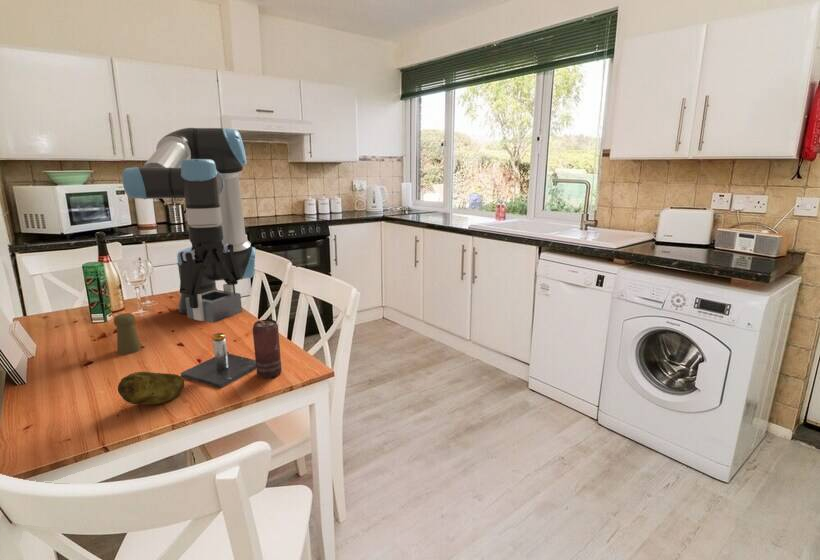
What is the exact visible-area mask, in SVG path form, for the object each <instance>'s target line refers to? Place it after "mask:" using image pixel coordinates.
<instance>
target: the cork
mask: <svg viewBox="0 0 820 560" xmlns="http://www.w3.org/2000/svg"><path fill="white" fill-rule="evenodd" d="M135 323H136V317H135V315H134V314H133V313H131V312H129V313H128V312H125V313H121V314H117V315H115V316H114V318H113V324H114V326H115V327H116V333H117V335H116V336H117V337H116V341H117V343H116V344H117V346H116V347H117V354H118V355H131V354H135V353H137V352H139V351H141V350H142V348H143V347H142V345H141V344H142V343H141V342H140V339H139V336H138V332H137V330H136V329H137V328H136V327H135Z"/></svg>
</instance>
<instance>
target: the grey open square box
mask: <svg viewBox="0 0 820 560" xmlns="http://www.w3.org/2000/svg"><path fill="white" fill-rule="evenodd" d="M201 296H202V305H203V313H204V320H203V321H202V322H206V323H207V322H208V323H212V324H213V323H214V324H215V323H217V322H219V321H223V320H226V319H228V318H231V317H233V316H236V315H238V314H241V313H243V306H242V298H241V297H242V296H241V293H239V292H235V293H233V292H227V291H224V290H220V289H217V290H212V291H208V292H205V293H202V294H201ZM185 301H186V308H187V315H186V316H187V318H188V319H192V320H194V315H193V308H191V307H190V303H189V297H188V298H185Z"/></svg>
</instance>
